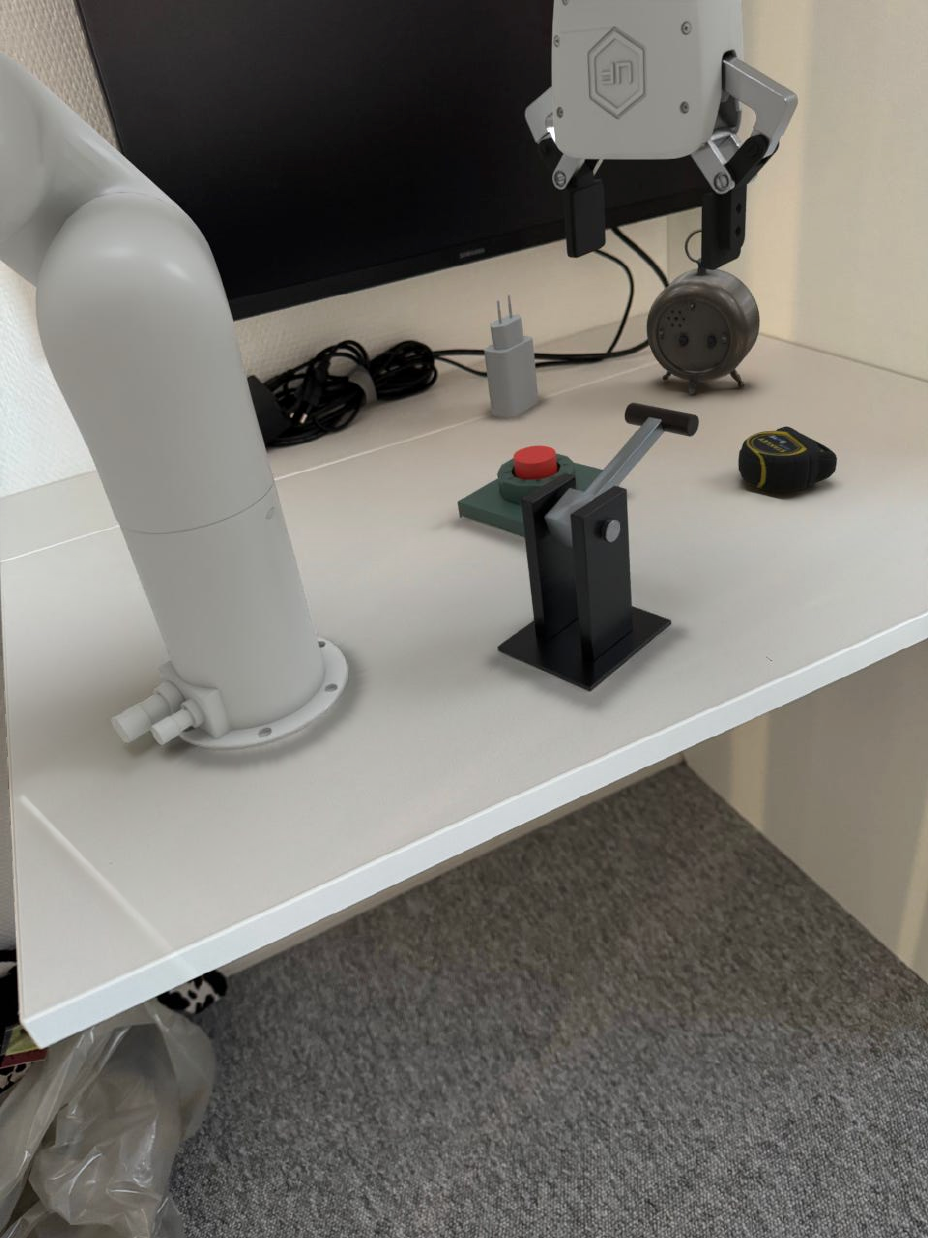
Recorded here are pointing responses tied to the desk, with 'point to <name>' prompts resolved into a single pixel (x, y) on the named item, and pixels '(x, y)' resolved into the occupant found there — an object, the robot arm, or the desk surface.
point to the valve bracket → (580, 590)
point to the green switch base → (516, 494)
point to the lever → (620, 462)
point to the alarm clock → (703, 325)
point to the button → (535, 462)
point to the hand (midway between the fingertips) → (650, 257)
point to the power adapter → (510, 367)
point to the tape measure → (784, 460)
